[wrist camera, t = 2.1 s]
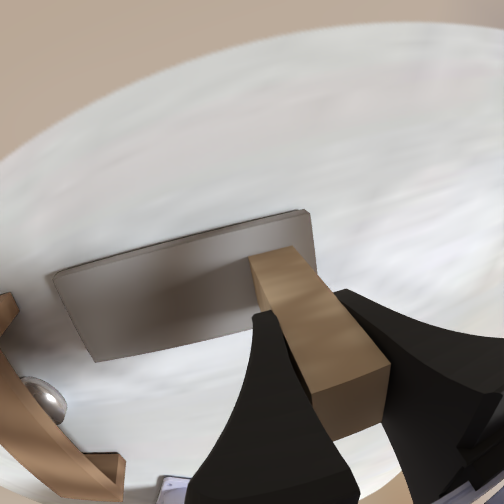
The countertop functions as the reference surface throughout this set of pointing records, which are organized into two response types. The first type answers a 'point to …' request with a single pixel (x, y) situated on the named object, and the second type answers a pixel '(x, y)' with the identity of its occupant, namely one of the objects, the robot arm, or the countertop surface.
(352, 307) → the robot arm
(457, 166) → the countertop surface
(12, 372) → the brown wooden bridge
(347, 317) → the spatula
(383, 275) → the countertop surface
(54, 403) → the silver flat dome
